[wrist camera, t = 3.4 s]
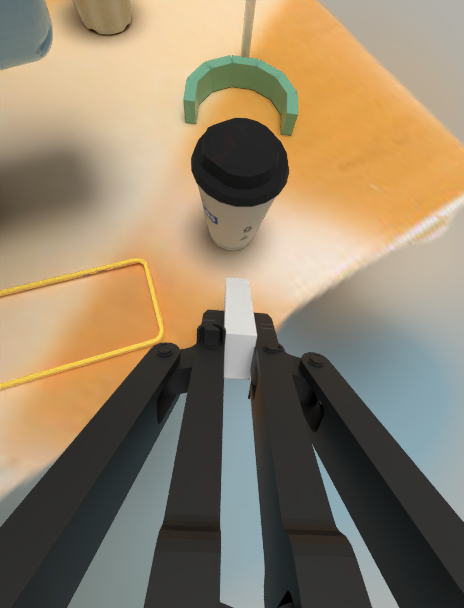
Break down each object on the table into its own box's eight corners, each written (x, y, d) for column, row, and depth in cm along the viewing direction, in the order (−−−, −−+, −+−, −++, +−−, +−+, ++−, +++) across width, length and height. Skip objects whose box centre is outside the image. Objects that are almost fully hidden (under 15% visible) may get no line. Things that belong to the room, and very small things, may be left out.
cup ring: (185, 122, 29) (183, 99, 27) (192, 74, 31) (191, 49, 29) (290, 135, 30) (297, 114, 28) (291, 87, 32) (297, 64, 30)
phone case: (-44, 308, 22) (-59, 304, 21) (148, 261, 25) (145, 255, 24) (-39, 402, 20) (-56, 404, 19) (168, 341, 23) (166, 339, 22)
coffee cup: (267, 205, 27) (297, 113, 17) (262, 265, 25) (294, 199, 16) (202, 197, 27) (196, 98, 17) (192, 256, 25) (181, 183, 15)
